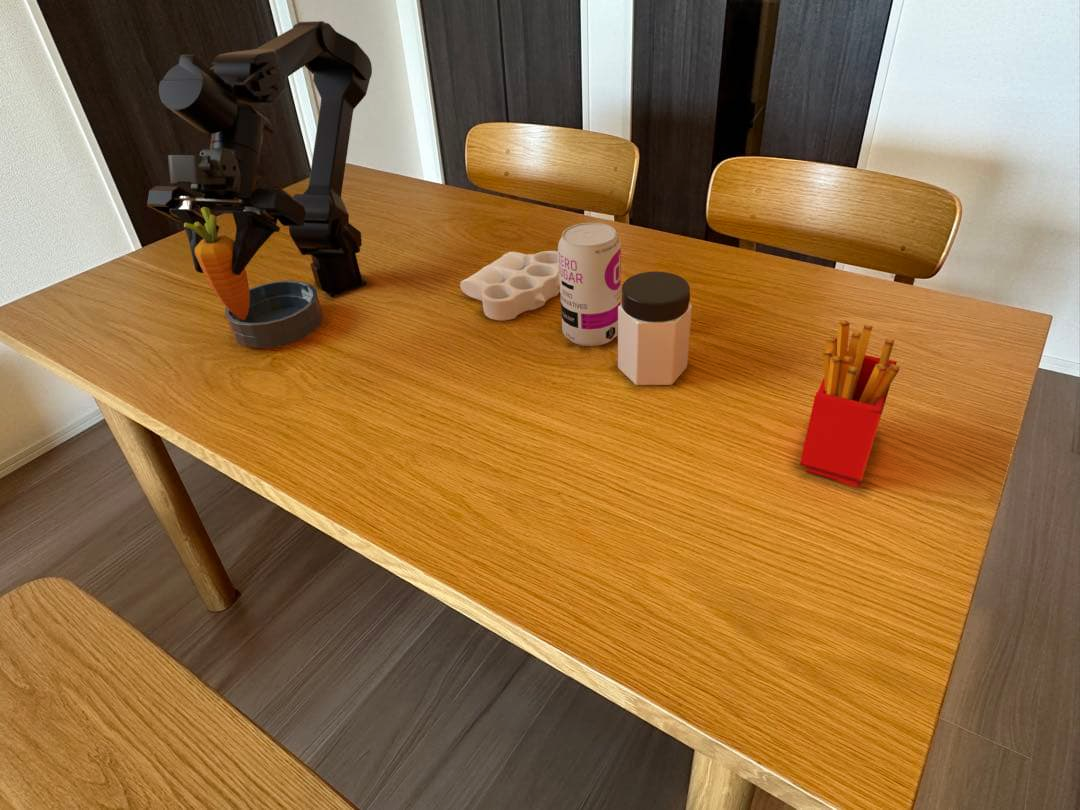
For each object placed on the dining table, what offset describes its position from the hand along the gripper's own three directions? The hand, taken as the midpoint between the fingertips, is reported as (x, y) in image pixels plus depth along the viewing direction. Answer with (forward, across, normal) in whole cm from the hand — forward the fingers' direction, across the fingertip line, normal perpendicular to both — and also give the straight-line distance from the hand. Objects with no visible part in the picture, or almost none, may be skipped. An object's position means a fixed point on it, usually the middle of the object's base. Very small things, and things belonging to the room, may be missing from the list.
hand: (217, 273), depth 86 cm
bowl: (+3, -3, +20) cm, 20 cm away
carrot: (+4, 0, +6) cm, 8 cm away
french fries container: (+15, +74, +8) cm, 76 cm away
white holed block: (-7, +31, +30) cm, 44 cm away
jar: (+5, +53, +17) cm, 56 cm away
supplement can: (0, +44, +23) cm, 49 cm away
